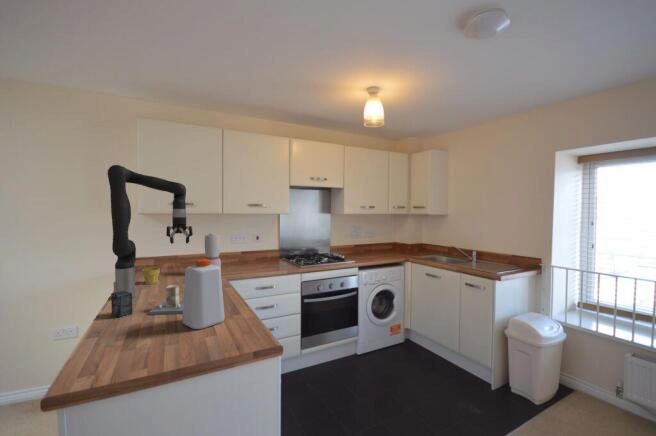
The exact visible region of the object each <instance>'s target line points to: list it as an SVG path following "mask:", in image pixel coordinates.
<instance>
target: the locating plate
mask: <svg viewBox="0 0 656 436" xmlns="http://www.w3.org/2000/svg"><path fill="white" fill-rule="evenodd" d="M183 301H184V300H179V304H177V307H166V301H162V302H160V304H158V305H157V306H155V307H153V308H152V309H151V310H149V311H148V316H152V315H153V316H157V315H159V316H160V315H177V314H178V315H179V314H182V315H183Z"/></svg>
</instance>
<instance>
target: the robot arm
mask: <svg viewBox="0 0 656 436" xmlns="http://www.w3.org/2000/svg"><path fill="white" fill-rule="evenodd" d="M107 177H108V184H109V191H110V213H111V223H112V224H111V225H112V227H111V228H112V246H111V247H112V248H111V249H112V252H113V254H114V255H115V256H116V257H117V259H116V262H115V264H114V277H115V279H114V280H115V281H114V282H113V293H115V292H120V291H126V292H129V293H132V299H133V298H135V296H136V282H135V281H136V276H135V272H136V271H135V263H136V254H137V249H136V248H137V246H136V244H135V242H134V241H133V240H132V239H129V228H130V224H131V219H132V210H131V209H132V208H131V202H130V200H129V196H128V193H127V187H126V183H128V184H135V185H138V186H139V185H140V186H143V187H146V188H149V189H152V190H157V191H161V192H166V193H170V194H173V200H172V211H171V213H172V214H171V215H172V216H171V217H172V221H171V222H172V223H171V225H172V226H170V225H168V226H166V237H169V243H170V244H171V245H173V244H174V243H175V242H174V241H175V240H174V239H175V238H174V236H175V235H176V234H183V235H184V236H185V244H189V243H190V237H192V236H193V235H194V233H193V226H192V225H190V226H187V206H186V205H187V203H186V198H187V187H186V186H185V185H184V184H182V183H180V182H176V181H170V180H168V179H164V178H161V177H156V176H153V175H147V174H141V173H138V172H135V171H133V170H131V169H128V168H126V167H125V166H122V165H120V164H112V165H111V166H110V167H109V168H108V169H107ZM171 230H172V232H171ZM187 230H188V231H187Z"/></svg>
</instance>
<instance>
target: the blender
mask: <svg viewBox="0 0 656 436" xmlns="http://www.w3.org/2000/svg"><path fill="white" fill-rule="evenodd" d="M220 252H221V235H220V234H217V233H215V232H211V233H208V234H207V235H204V253H205V259H209V260H210V264H211V265H216V266H219V267H220V269H221V270H222V261H221V258H220V254H221V253H220Z"/></svg>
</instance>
